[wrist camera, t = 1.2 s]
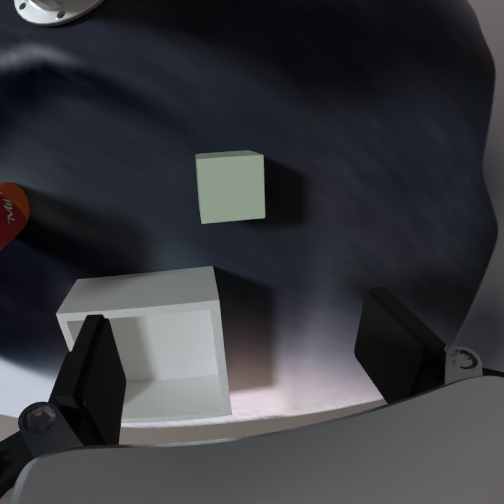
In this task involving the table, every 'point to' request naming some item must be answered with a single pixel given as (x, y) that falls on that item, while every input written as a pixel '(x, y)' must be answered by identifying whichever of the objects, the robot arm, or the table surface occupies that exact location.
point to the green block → (230, 186)
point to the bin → (159, 340)
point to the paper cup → (12, 212)
